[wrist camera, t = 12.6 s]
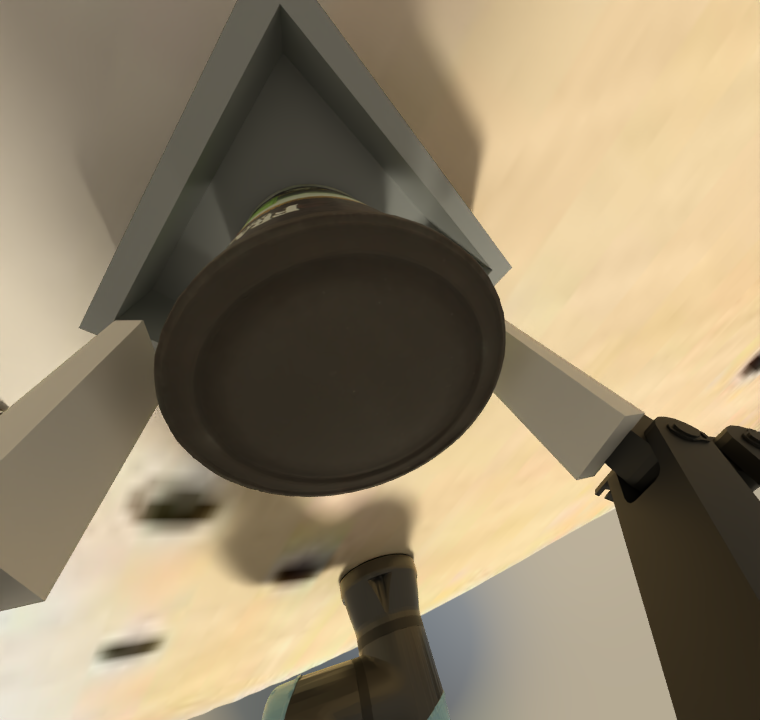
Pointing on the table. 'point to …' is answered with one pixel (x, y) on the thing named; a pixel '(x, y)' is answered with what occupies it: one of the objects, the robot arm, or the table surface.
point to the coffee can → (328, 348)
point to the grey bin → (273, 158)
